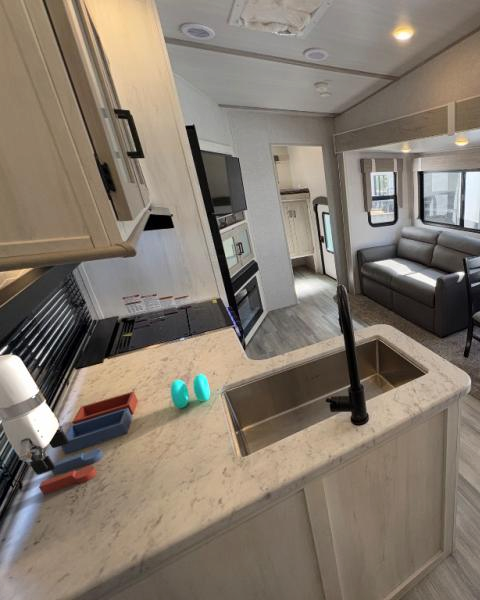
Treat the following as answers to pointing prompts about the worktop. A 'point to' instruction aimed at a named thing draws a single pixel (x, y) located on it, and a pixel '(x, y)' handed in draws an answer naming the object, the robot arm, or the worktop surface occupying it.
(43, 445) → the robot arm
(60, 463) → the blue spoon
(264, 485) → the worktop surface
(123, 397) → the red bin
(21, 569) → the worktop surface
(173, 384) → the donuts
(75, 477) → the red elongated piece
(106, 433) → the blue bin
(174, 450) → the worktop surface
